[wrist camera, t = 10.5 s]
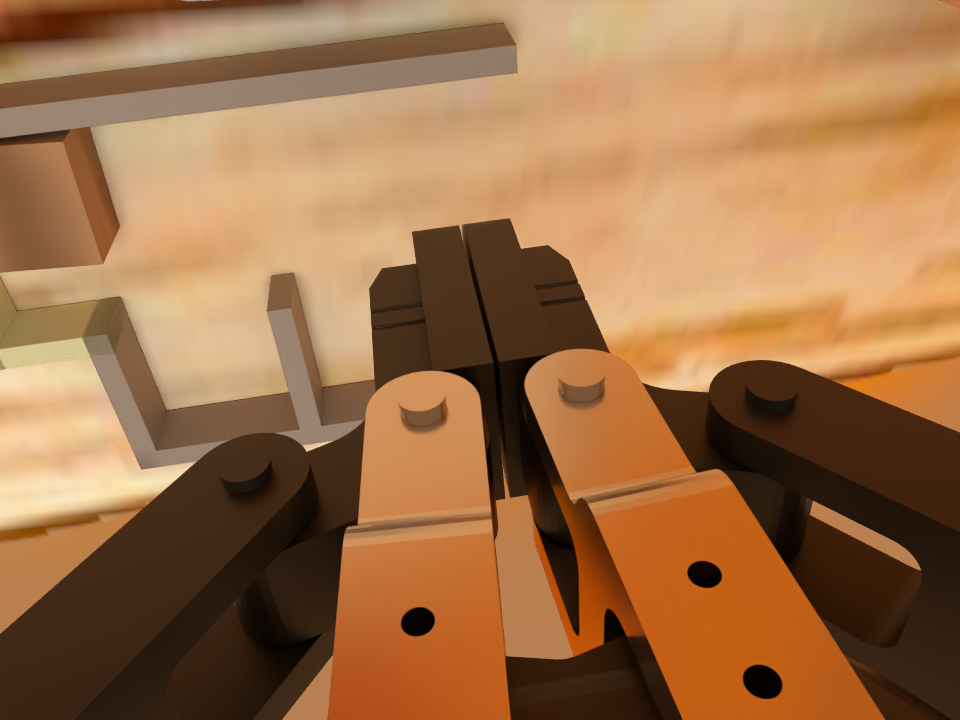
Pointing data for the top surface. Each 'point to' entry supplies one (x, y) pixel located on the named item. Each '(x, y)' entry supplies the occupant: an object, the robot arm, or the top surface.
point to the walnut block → (53, 202)
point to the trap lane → (308, 407)
